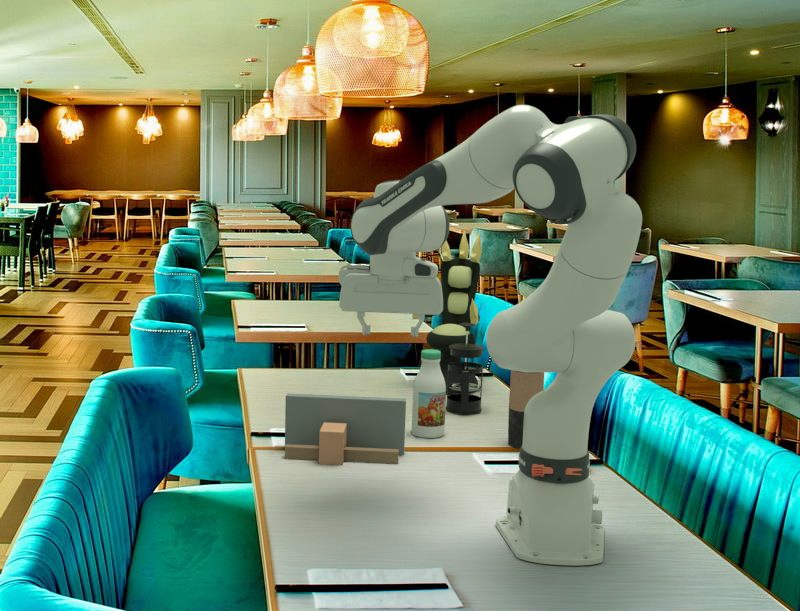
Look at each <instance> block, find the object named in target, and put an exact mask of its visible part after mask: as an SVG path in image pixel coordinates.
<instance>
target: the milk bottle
mask: <svg viewBox="0 0 800 611" xmlns="http://www.w3.org/2000/svg"><path fill="white" fill-rule="evenodd" d="M420 356H421V357H420V360H421V365H420V368H419V370H418V372H417V375H416V376H415V379H414V381H413V390H412V409H411V433H412V434H413V436H416V437H418V438H424V439H434V438H435V439H436V438H441V437H442V436H443V435H444V434H445V427H446V425H445V424H446V405H447V393H446V384H445V380H444V377H443V374H442V372H441V369H440V360H441V359H440V358H441V352H440V350H438V349H434V348H432V349H423V350H421V352H420Z"/></svg>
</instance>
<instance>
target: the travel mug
mask: <svg viewBox="0 0 800 611" xmlns="http://www.w3.org/2000/svg"><path fill="white" fill-rule="evenodd" d="M509 382H510V384H509V398H508V420H507V422H508V426H507V428H508V429H507V430H508V431H507V433H508V434H507V444H508V446H509V447H512V448H515V449H519V448H520V447H521V446H522V445H523V427H524V410H525V407H526V405H527V403H528V401H529V400H530V399H531V398H532V397H533V396H534V395H536V394H537V393H539V392H541V391H543V390H545V385H544V384H545V372H533V373H525V372H519V371H514V370H510V380H509Z"/></svg>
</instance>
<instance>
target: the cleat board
mask: <svg viewBox="0 0 800 611" xmlns="http://www.w3.org/2000/svg"><path fill="white" fill-rule="evenodd" d="M284 406H285V410H284V411H285V412H284V413H285V416H284V418H285V419H284V421H285V422H284V423H285V424H284V459H288V460H289V459H290V460H291V459H292V460H293V459H294V460H310V461H311V460H312V461H319V432H320V429H321V427H322V425H323V423H324V422H327V423H347V441H346V447H344V462H356V463H373V464H374V463H375V464H376V463H379V464H399V456H405V445H406V444H405V443H406V442H405V441H406V439H405V437H406V414H407V413H406V412H407V398H403V397H402V398H397V397H382V396H381V397H379V396H378V397H377V396H374V397H373V396H354V395H334V394H333V395H330V394H329V395H328V394H311V393H286V395H285V405H284Z"/></svg>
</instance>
